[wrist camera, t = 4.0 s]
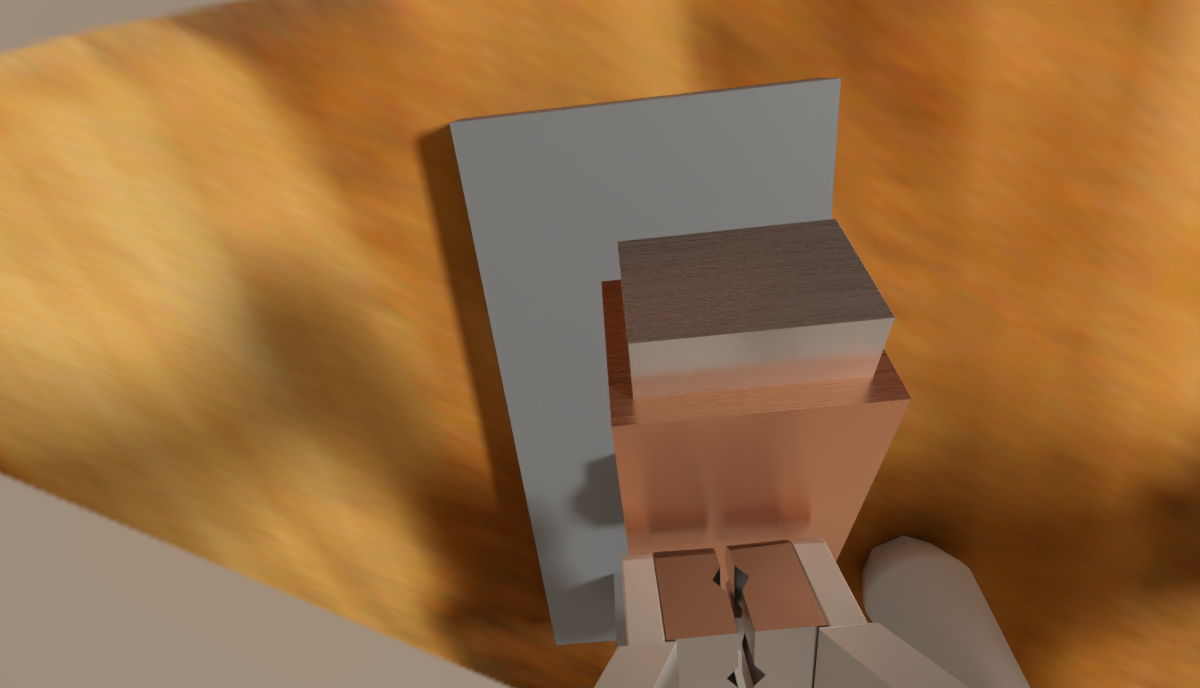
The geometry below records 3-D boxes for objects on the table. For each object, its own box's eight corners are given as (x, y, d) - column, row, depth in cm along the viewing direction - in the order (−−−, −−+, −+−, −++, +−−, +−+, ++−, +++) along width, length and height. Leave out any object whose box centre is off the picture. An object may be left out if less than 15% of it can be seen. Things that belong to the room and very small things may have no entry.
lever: (727, 672, 27) (743, 764, 24) (650, 678, 27) (658, 770, 24) (833, 179, 8) (943, 346, 6) (593, 205, 9) (603, 379, 6)
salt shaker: (942, 595, 34) (1127, 872, 22) (844, 603, 34) (976, 881, 22) (957, 519, 31) (1175, 786, 20) (852, 528, 32) (1004, 798, 20)
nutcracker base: (792, 596, 34) (874, 814, 24) (558, 615, 34) (542, 835, 24) (820, 77, 22) (1008, 80, 12) (461, 119, 22) (353, 153, 12)
